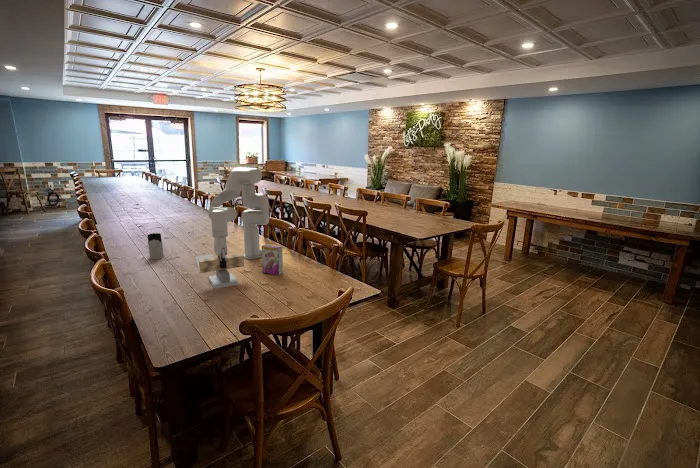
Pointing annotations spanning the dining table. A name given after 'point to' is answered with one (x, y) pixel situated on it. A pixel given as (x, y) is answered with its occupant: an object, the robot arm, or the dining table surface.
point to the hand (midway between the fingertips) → (222, 266)
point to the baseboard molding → (203, 258)
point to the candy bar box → (272, 259)
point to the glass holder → (155, 246)
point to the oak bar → (214, 263)
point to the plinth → (219, 285)
